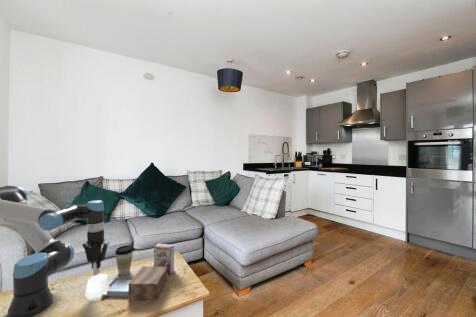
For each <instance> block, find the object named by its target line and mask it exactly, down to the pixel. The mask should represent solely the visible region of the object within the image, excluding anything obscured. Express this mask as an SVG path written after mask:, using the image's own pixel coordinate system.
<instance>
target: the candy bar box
mask: <svg viewBox="0 0 476 317" xmlns="http://www.w3.org/2000/svg"><path fill="white" fill-rule="evenodd" d="M153 252H154V254H153V257H154V258H153V266H157V267H167V275H171V274H172V273H173V271H175V270H174V269H175V245H174V244H169V243H168V244H166V243H157V244H156V245H154V248H153Z"/></svg>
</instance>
